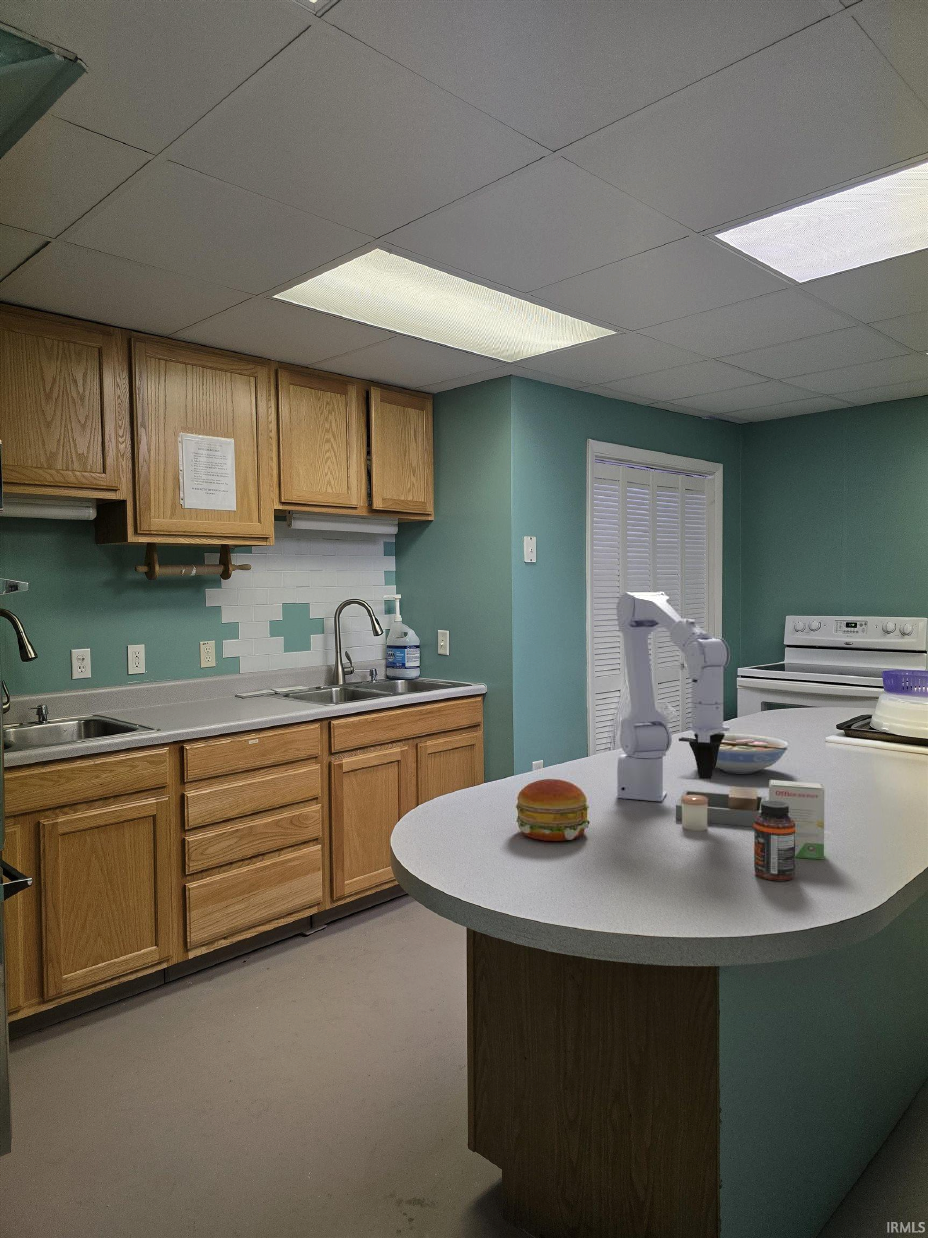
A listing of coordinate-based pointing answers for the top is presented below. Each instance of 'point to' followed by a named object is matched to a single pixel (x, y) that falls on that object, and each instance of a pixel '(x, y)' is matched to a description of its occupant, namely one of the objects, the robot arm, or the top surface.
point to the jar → (694, 812)
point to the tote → (723, 809)
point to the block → (743, 798)
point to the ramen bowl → (747, 752)
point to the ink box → (803, 814)
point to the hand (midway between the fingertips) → (707, 774)
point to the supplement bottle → (774, 842)
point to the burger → (552, 810)
